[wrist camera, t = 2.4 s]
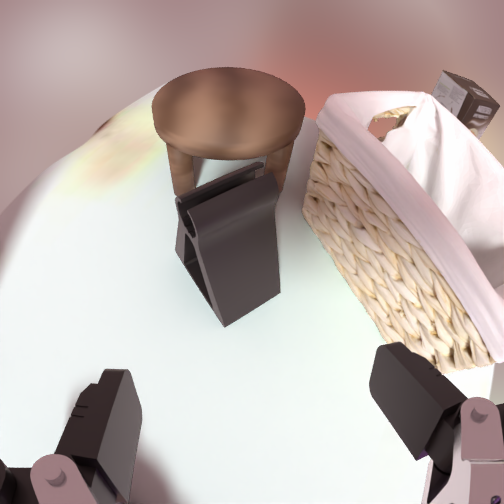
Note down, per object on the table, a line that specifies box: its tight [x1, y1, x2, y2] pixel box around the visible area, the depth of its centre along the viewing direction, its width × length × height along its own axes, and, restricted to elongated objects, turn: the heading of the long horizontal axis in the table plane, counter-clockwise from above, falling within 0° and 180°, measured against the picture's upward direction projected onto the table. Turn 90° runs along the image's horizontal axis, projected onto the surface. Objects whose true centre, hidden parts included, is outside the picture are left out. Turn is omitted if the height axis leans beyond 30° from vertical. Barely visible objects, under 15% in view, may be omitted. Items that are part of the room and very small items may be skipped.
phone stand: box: [175, 162, 280, 327], centre depth 23 cm, size 9×6×12 cm, turn 34°
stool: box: [152, 67, 305, 196], centre depth 32 cm, size 16×16×9 cm
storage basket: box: [302, 91, 504, 374], centre depth 24 cm, size 24×16×15 cm
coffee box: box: [431, 70, 500, 140], centre depth 33 cm, size 9×6×16 cm
